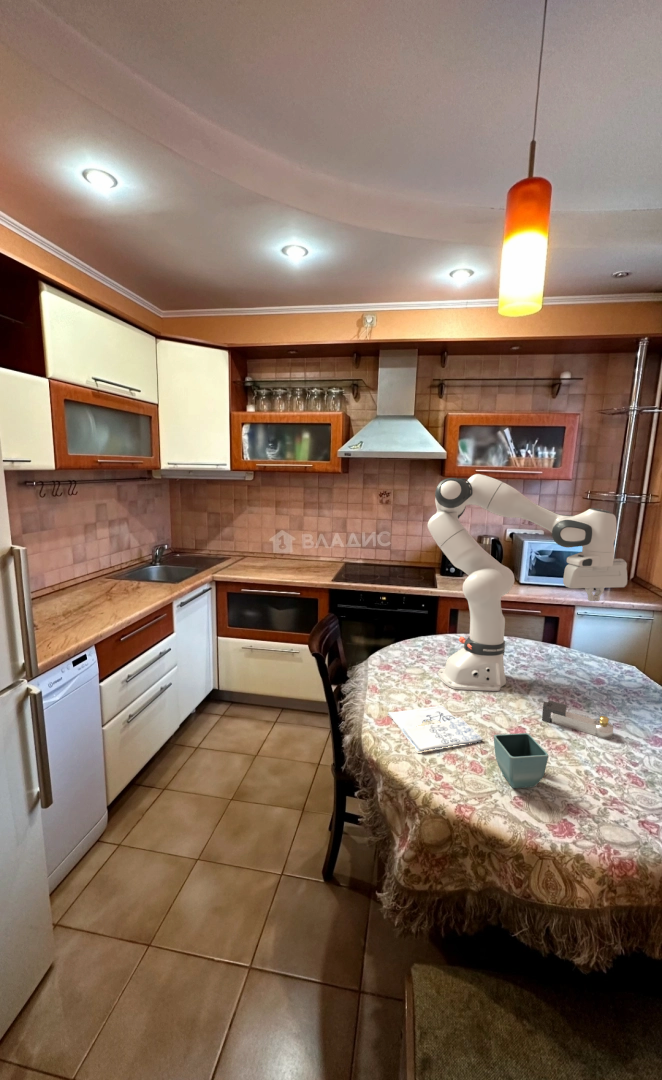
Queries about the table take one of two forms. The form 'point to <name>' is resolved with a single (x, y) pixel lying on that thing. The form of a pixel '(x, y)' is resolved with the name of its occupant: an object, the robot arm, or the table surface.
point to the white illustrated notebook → (434, 728)
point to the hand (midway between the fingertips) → (593, 600)
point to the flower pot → (520, 759)
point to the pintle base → (562, 712)
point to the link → (584, 724)
